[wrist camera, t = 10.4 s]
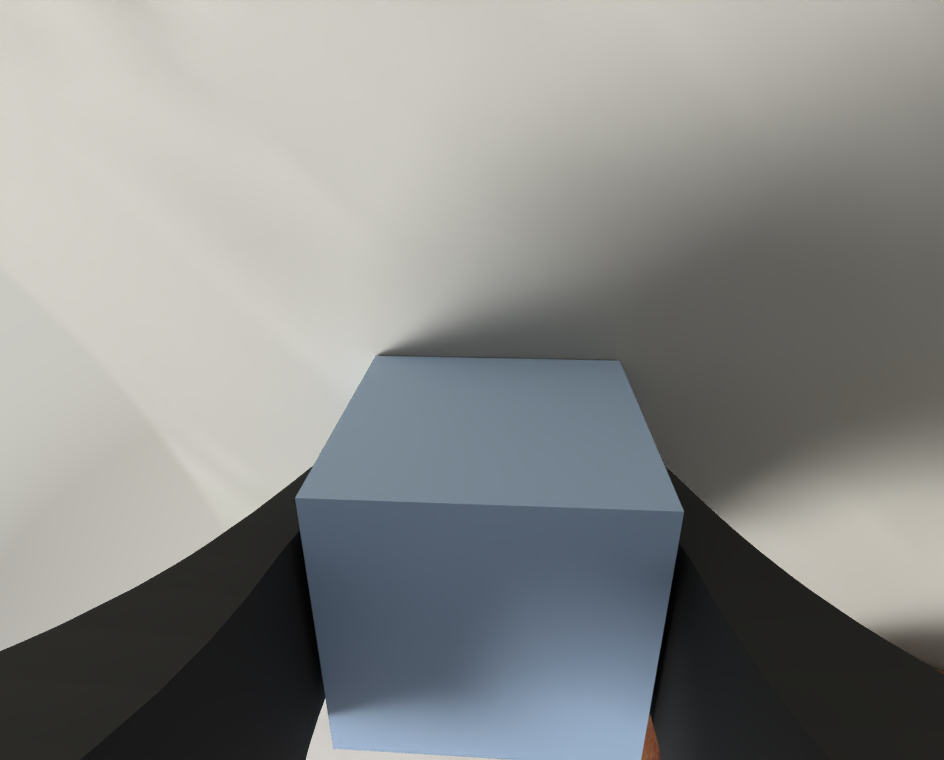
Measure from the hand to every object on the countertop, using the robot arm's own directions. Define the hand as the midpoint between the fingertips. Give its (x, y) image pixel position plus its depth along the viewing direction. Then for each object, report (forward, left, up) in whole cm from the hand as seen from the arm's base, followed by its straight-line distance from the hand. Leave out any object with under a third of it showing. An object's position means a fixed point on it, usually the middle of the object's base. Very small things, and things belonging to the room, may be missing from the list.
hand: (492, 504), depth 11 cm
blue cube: (0, 0, -1) cm, 1 cm away
